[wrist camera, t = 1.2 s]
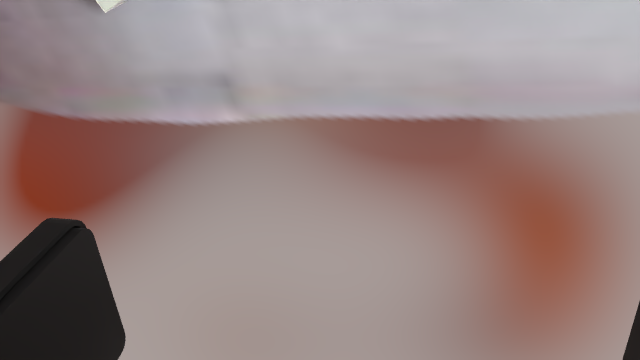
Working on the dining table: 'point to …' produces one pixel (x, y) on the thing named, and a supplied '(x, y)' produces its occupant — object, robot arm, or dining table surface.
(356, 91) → the dining table surface
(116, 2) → the coaster tray
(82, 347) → the robot arm
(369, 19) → the dining table surface
